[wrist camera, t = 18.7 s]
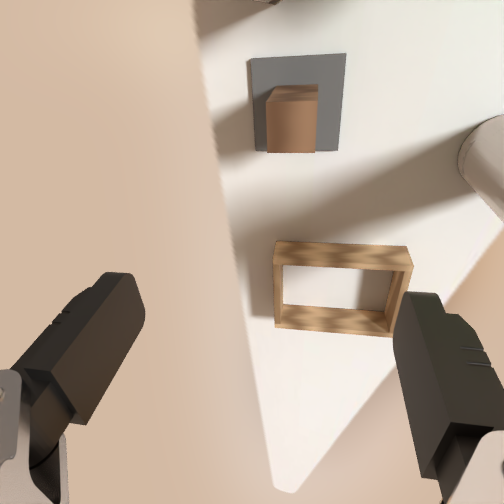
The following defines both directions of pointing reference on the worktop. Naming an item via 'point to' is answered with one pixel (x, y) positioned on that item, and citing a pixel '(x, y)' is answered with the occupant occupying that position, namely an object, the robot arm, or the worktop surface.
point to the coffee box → (269, 1)
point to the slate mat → (301, 73)
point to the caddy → (341, 258)
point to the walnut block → (292, 119)
